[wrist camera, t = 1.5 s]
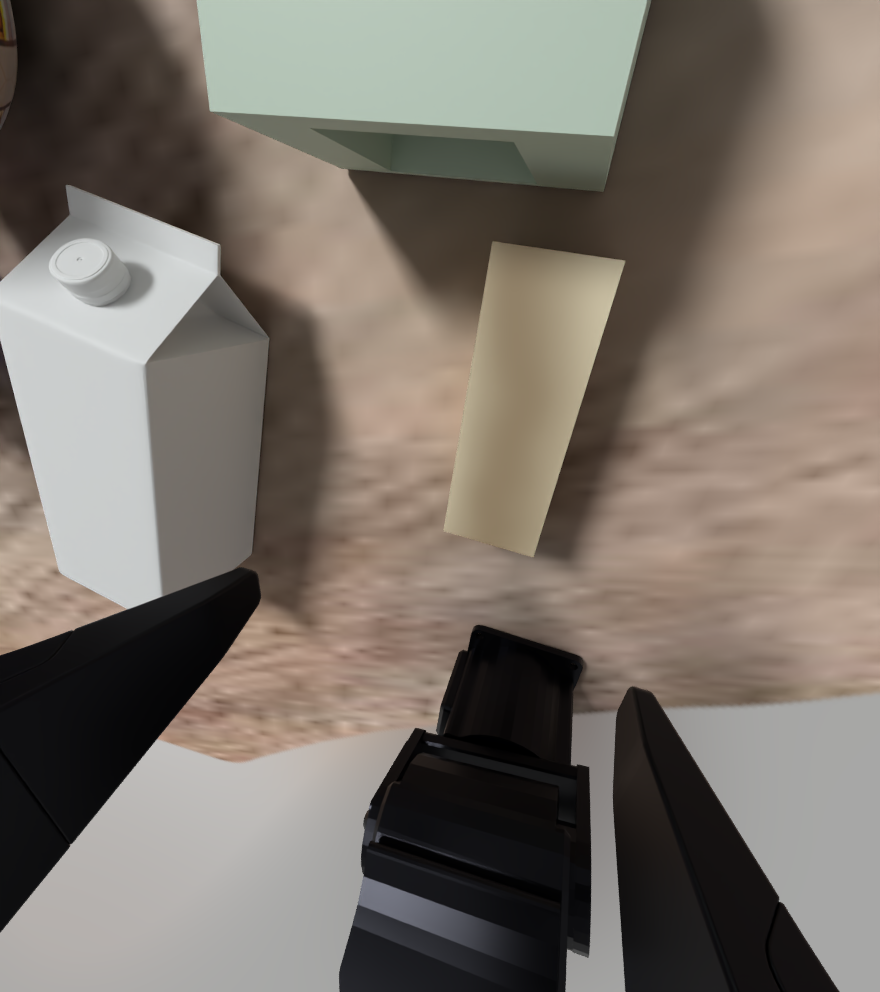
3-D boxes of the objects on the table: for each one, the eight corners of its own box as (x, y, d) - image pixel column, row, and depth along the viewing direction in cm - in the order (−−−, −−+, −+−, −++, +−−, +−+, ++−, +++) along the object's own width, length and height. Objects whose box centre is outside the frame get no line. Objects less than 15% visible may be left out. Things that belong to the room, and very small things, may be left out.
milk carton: (166, 514, 30) (146, 198, 20) (252, 556, 29) (278, 249, 19) (58, 574, 24) (-48, 164, 14) (164, 630, 23) (132, 237, 13)
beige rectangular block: (617, 264, 16) (625, 260, 12) (542, 512, 21) (533, 557, 18) (512, 248, 16) (492, 241, 13) (465, 491, 22) (443, 531, 18)
